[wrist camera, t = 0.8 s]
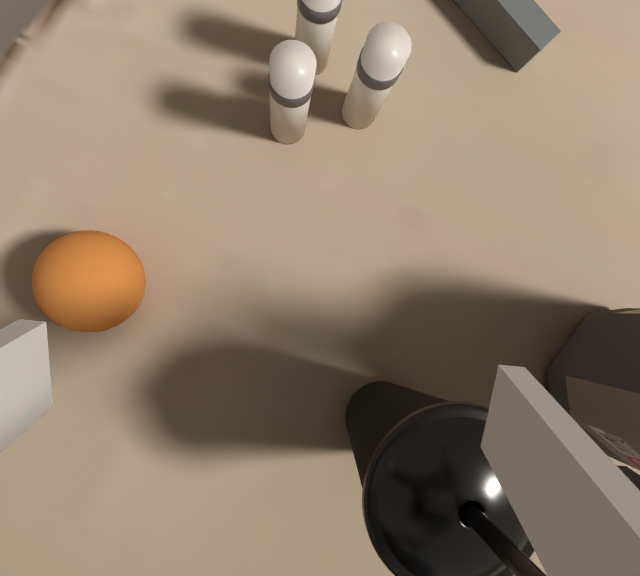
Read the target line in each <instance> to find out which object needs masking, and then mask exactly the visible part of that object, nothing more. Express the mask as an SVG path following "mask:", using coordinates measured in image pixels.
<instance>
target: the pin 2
mask: <svg viewBox="0 0 640 576" xmlns="http://www.w3.org/2000/svg"><path fill="white" fill-rule="evenodd" d="M411 47H412V46H411V39H410V37H409V35H408V33H407V32H406V30H405V29H404V28H403V27H401V26H400V25H398V24H396V23H393V22H383V23H379V24H377V25H376V26H374V27H373V28H372V29H371V30H370V32H369V34H368V36H367V39H366V42H365V45H364V47H363V48H362V51H361V53H360V56H359V59H358V62H357V67H356V70H355V73H354V76H353V79H352V81H351V84H350V87H349V90H348V93H347V96H346V98H345V101H344V104H343V107H342V116H343V119H344V121H345V122H346V124H347V125H349V126H350V127H352V128H354V129H364V128H367V127H368V126H370V125H371V124H372V122H373V121H374V119H375V117H376V115H377V113H378V112H379V110H380V108H381V106H382V104H383V103H384V101H385V99H386V97H387V95H388V93H389V92H390V90H391V88H392V86H393V85H394V84H395V82H396V81H397V79H398V77H399V75H400V74H401V72H402V70H403V67H404V64H405V63H406V61H407V59H408V57H409V55H410V53H411Z"/></svg>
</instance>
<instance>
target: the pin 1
mask: <svg viewBox="0 0 640 576" xmlns="http://www.w3.org/2000/svg"><path fill="white" fill-rule="evenodd" d="M341 3H342V0H297V5H298V7H297V19H296V31H295V40H298V41H301V42H303V43H305V44H306V45H308V46H309V47H310V48H311V50H312V51H313V53H314V55H315V57H316V64H317V65H316V72H315V75H318V74H320V73H321V72H322V71H323V70H324V69H325V67H326V65H327V61H328V57H329V53H330V48H331V44H332V39H333V35H334V30H335V26H336V22H337V17H338V14H339V11H340V8H341Z"/></svg>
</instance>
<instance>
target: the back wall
mask: <svg viewBox="0 0 640 576" xmlns="http://www.w3.org/2000/svg"><path fill="white" fill-rule="evenodd" d="M454 1H455V2H456V4H457V5H458V6H459V7H460V8H461V9H462V10H463V12H464V13H465V14H466V15H467V16H468V17H469V18H470V20H471V21H472V22H473V23H474V24H475V25H476V26H477V28H478V29H479V30H480V31H481V32H482V33H483V34H484V36H485V37H486V38H487V39H488V40H489V41H490V42H491V44H492V45H493V46H494V47H495V48H496V49H497V50H498V52H499V53H500V54H501V55H502V56H503V57H504V58H505V60H506V61H507V62H508V63H509V64H510V65H511V66H512V68H513V69H514V70H515V71H516V72H518V71H519V70H520V69H521V68H522V67H523V66H524V65H525V64H527V63H528V62H529V61H530V60H531V59H532V58H533V57H534V56H535V55H536V54H537V53H538V52H539V51H541V50H542V49H543V48H544V47H545V46H546V45H547V44H548V43H549V42H550V41H551V40H552V39H553V38H554V37H555V36H556V35H557V34H558V33H560V32H561V31H560V30H559V29H558V27H557V26H556V25H555V24H554V23H553V22H552V21H551V19H550V18H549V17H548V16H547V15H546V14H545V12H544V11H543V10H542V9H541V8H540V7H539V5H538V4H537V3H536V2H535V1H534V0H454Z"/></svg>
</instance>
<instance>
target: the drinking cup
mask: <svg viewBox="0 0 640 576" xmlns="http://www.w3.org/2000/svg"><path fill="white" fill-rule="evenodd" d="M488 411H489V408H488V407H485V406H483V405H479V404H475V403H470V402H461V401H446V400H443V399H440V398H436V397H433V396H430V395H427V394H424V393H421V392H417V391H414V390H411V389H408V388H405V387H401V386H398V385H395V384H392V383H388V382H372V383H369V384H367V385H365V386H363V387H361V388H360V389H359V390H358V391H356V392H355V394H354V395H353V396H352V398H351V399H350V401H349V403H348V406H347V409H346V425H347V429H348V433H349V437H350V441H351V445H352V449H353V453H354V457H355V461H356V465H357V469H358V473H359V476H360V480H361V484H362V488H363V492H362V509H363V517H364V522H365V526H366V529H367V532H368V535H369V538H370V540H371V543H372V545H373V547H374V549H375V551H376V553H377V554H378V556H379V557H380V559H381V560H382V562H383V563H384V564H385V565H386V567H387V568H388V569H389V570H390V571H391V572H392V573H393V574H394V575H395V576H547V575H546V574H545V573H544V572H542V571H541V570H540V569H539V568H538V567H537V566H536V565H535V564H534V563H533V562H532V561H531V560H530V559H529V558H530V557H531V555H532V554H533V552H534V548H533V546H532V544H531V543H530V541H529V539H528V537H527V535H526V533H525V531H524V529H523V527H522V525H521V523H520V521H519V519H518V518H517V516H516V514H515V512H514V510H513V508H512V506H511V504H510V502H509V500H508V498H507V496H506V495H505V493H504V491H503V489H502V487H501V485H500V483H499V481H498V479H497V477H496V475H495V473H494V471H493V470H492V468H491V466H490V464H489V462H488V460H487V458H486V456H485V454H484V452H483V450H482V448H481V442H482V438H483V433H484V429H485V424H486V420H487V415H488Z"/></svg>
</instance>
